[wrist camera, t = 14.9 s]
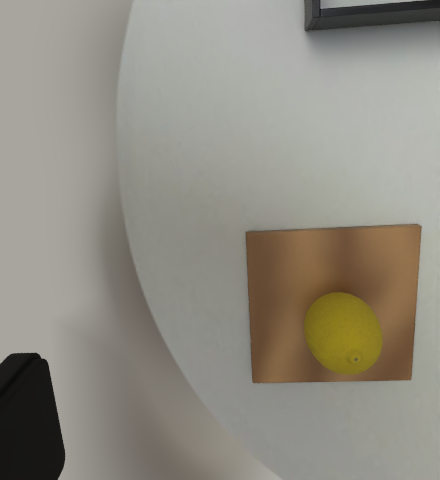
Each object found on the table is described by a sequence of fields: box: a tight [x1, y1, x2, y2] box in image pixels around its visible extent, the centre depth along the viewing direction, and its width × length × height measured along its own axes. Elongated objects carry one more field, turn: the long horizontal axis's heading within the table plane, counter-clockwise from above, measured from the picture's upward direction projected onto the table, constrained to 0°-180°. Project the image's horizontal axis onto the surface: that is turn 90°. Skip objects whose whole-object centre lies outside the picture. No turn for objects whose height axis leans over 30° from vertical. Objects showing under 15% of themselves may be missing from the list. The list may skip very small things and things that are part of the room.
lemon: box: [304, 292, 383, 375], centre depth 31 cm, size 6×6×8 cm
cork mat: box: [246, 224, 421, 383], centre depth 35 cm, size 14×14×1 cm
